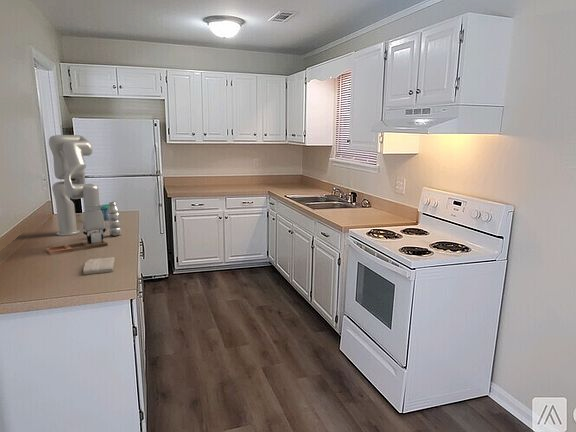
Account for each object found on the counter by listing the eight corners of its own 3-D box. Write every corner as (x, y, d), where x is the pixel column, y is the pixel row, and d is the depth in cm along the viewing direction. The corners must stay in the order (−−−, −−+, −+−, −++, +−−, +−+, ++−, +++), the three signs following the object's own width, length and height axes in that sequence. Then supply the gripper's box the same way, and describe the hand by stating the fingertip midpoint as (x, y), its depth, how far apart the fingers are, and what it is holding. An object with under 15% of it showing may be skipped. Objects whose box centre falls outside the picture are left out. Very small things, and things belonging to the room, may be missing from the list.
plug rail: (46, 250, 207) (45, 247, 207) (101, 241, 224) (101, 239, 224) (50, 255, 199) (49, 252, 199) (107, 245, 216) (107, 243, 216)
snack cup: (99, 222, 279) (98, 207, 277) (92, 220, 285) (91, 206, 284) (121, 218, 291) (119, 204, 289) (113, 217, 297) (112, 203, 296)
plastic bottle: (117, 237, 235) (114, 203, 231) (107, 236, 236) (103, 202, 233) (124, 234, 241) (121, 201, 238) (113, 234, 243) (110, 201, 239)
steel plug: (89, 244, 218) (88, 231, 216) (99, 243, 221) (98, 230, 220) (92, 246, 214) (90, 233, 213) (102, 244, 217) (100, 232, 216)
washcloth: (115, 261, 189) (114, 255, 189) (114, 273, 173) (113, 266, 172) (87, 264, 185) (86, 257, 185) (83, 276, 169) (82, 269, 168)
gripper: (107, 206, 222) (110, 238, 225) (72, 209, 211) (76, 243, 215) (111, 207, 216) (114, 240, 220) (76, 211, 206) (79, 246, 209)
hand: (95, 241), depth 217 cm, fingers closed on steel plug, 5 cm apart
